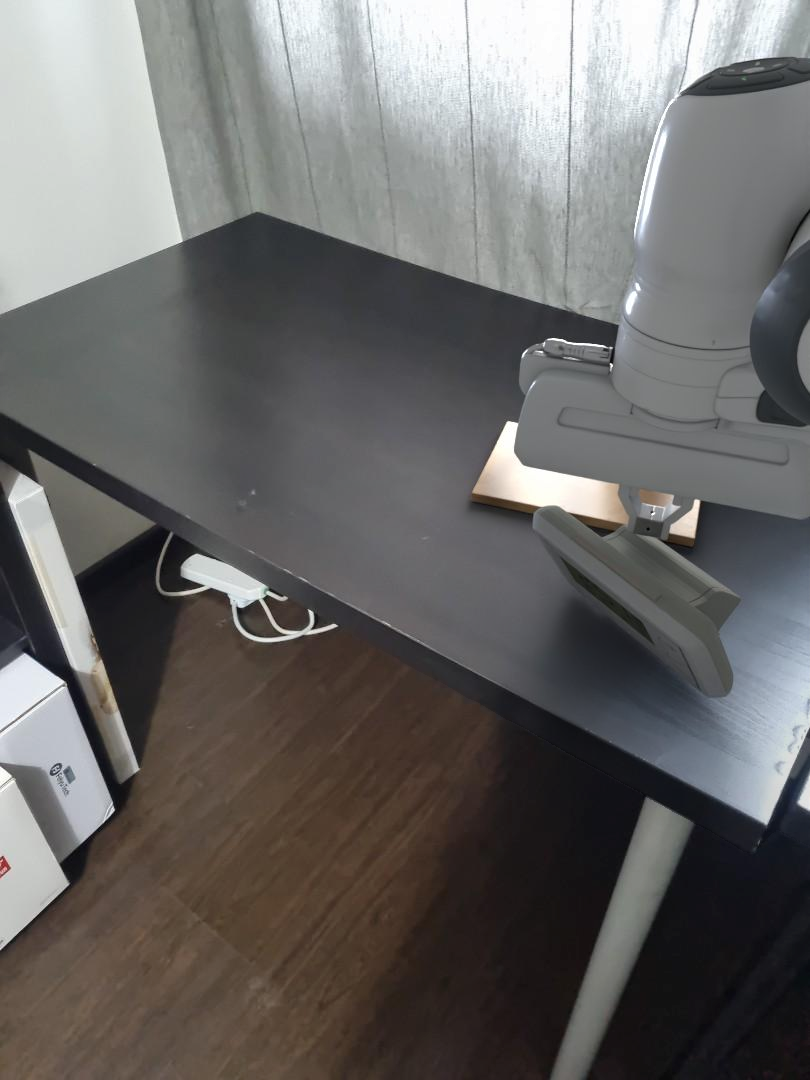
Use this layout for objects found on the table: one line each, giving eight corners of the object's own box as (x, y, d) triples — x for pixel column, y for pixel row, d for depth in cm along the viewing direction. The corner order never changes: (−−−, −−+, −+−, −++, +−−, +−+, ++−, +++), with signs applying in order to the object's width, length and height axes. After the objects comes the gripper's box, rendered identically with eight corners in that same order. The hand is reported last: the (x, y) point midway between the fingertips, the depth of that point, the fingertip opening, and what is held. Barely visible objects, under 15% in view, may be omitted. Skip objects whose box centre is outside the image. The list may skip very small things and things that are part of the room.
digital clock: (566, 571, 69) (493, 548, 61) (643, 493, 66) (577, 458, 58) (692, 730, 60) (625, 727, 52) (789, 648, 56) (733, 632, 48)
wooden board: (705, 464, 81) (707, 456, 80) (692, 547, 71) (695, 538, 71) (506, 428, 86) (507, 420, 85) (470, 501, 77) (471, 492, 76)
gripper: (510, 356, 51) (497, 527, 60) (867, 413, 46) (795, 592, 55) (533, 314, 56) (518, 479, 65) (862, 361, 50) (795, 534, 59)
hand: (647, 531), depth 60 cm, fingers closed
